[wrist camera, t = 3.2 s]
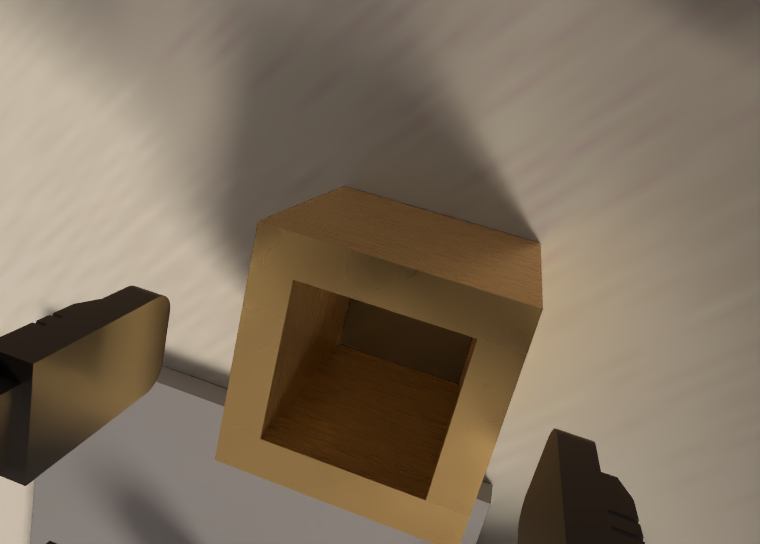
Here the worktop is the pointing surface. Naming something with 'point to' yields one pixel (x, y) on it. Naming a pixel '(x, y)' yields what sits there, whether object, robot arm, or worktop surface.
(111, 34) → the worktop surface
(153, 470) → the post block
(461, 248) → the brass collar
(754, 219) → the worktop surface
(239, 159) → the worktop surface
